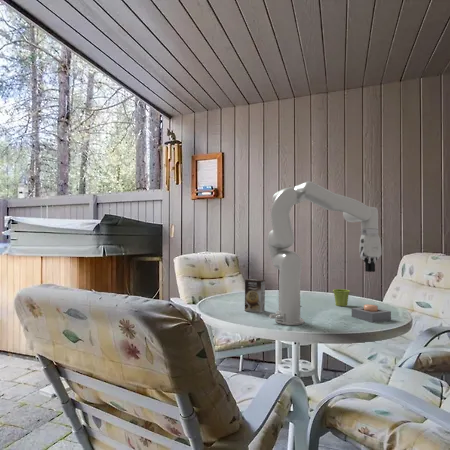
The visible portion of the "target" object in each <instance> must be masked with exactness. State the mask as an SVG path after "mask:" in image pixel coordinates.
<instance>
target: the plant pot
mask: <svg viewBox="0 0 450 450" xmlns="http://www.w3.org/2000/svg"><path fill="white" fill-rule="evenodd" d="M350 292H351V290H349V289H342V288H337V289H336V288H334V289H332V293H333V295H334V302H335V303H334V304H335V306H337V307H348V301H349V295H350Z"/></svg>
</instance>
